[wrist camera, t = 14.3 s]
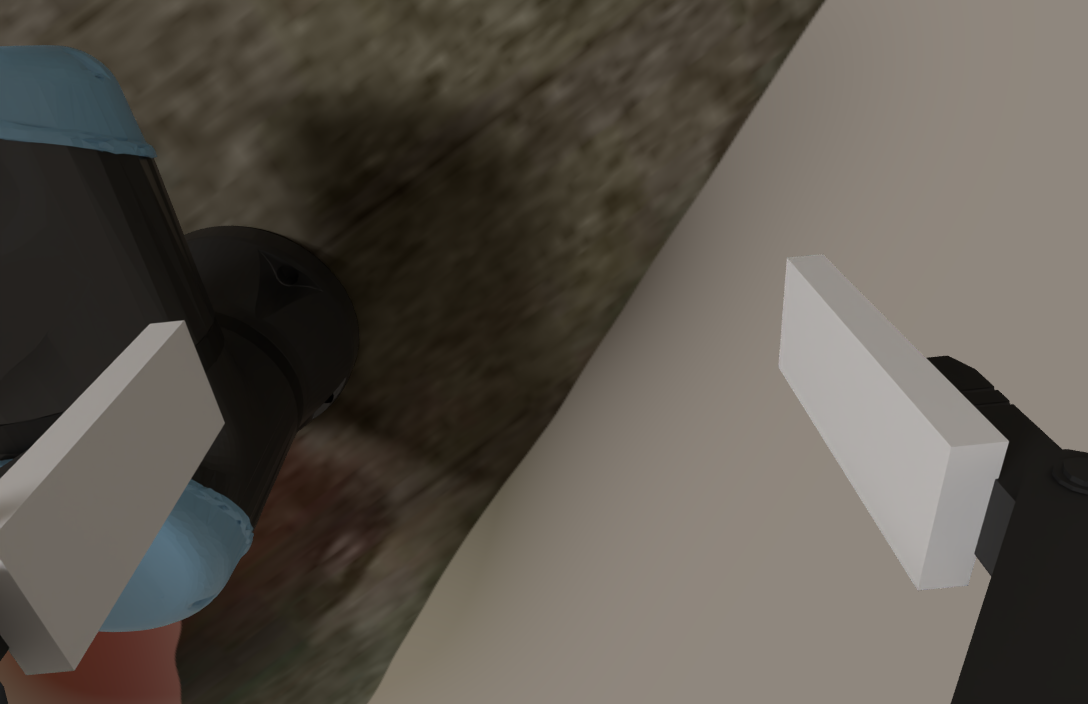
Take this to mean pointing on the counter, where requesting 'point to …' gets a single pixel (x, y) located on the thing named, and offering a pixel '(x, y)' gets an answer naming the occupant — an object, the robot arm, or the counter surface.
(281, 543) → the counter surface
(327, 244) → the counter surface
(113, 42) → the counter surface
